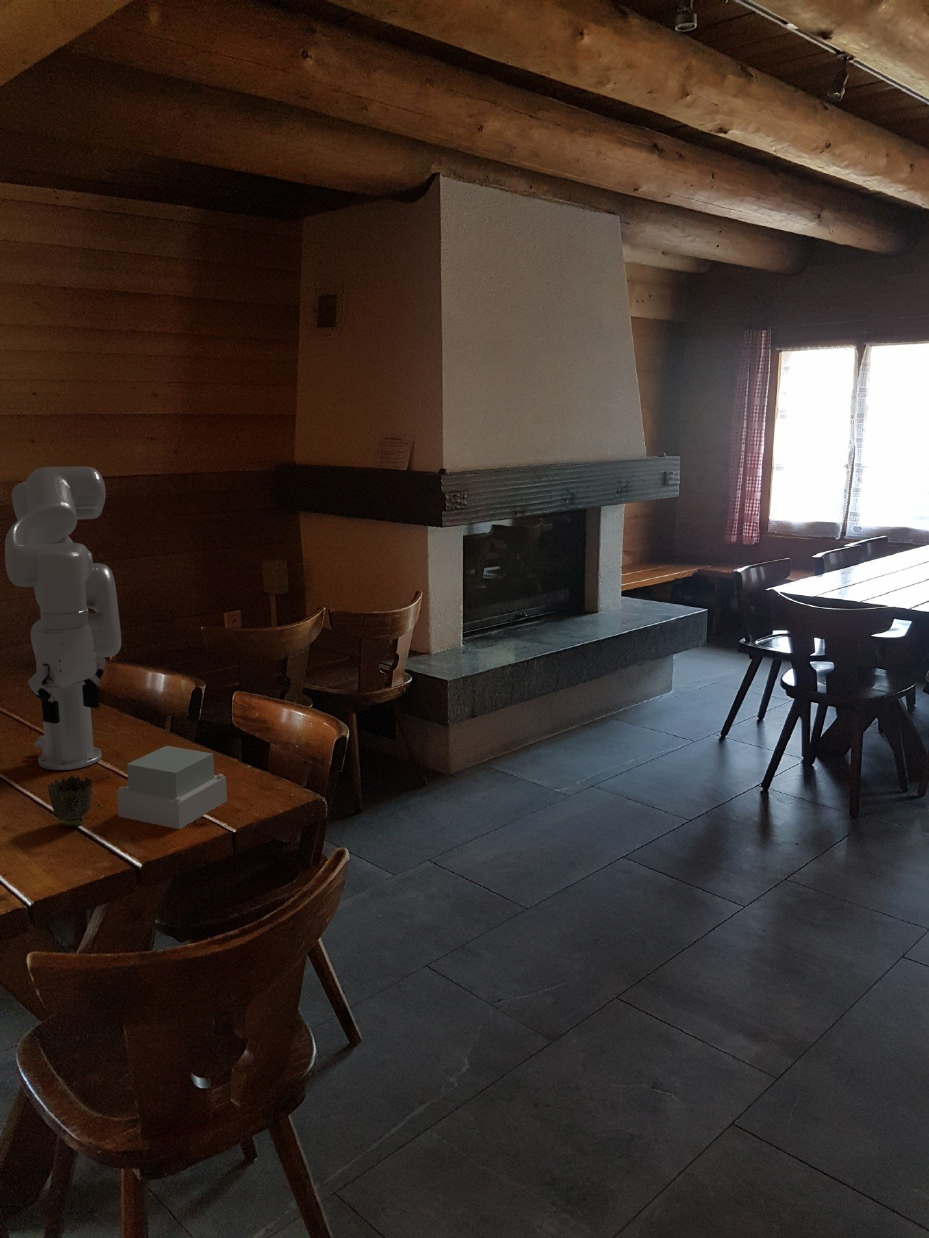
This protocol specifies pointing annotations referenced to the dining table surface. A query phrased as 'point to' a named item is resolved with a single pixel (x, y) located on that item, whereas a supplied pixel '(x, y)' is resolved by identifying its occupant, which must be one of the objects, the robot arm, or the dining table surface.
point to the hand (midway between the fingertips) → (72, 714)
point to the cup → (71, 799)
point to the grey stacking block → (171, 787)
